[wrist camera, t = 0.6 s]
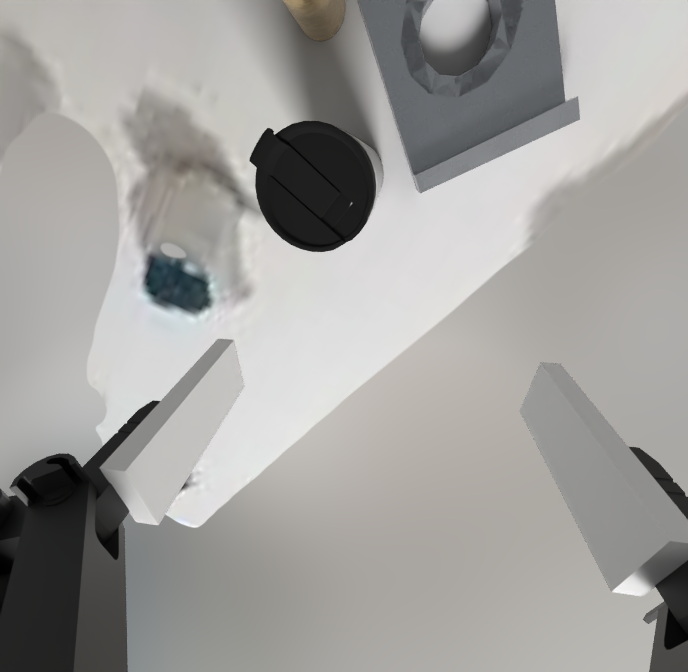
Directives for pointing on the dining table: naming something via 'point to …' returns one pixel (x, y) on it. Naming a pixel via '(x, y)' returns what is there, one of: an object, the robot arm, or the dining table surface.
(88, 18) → the dining table surface
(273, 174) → the travel mug
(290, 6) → the gold metal cylinder
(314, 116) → the dining table surface
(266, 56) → the dining table surface
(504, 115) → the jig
